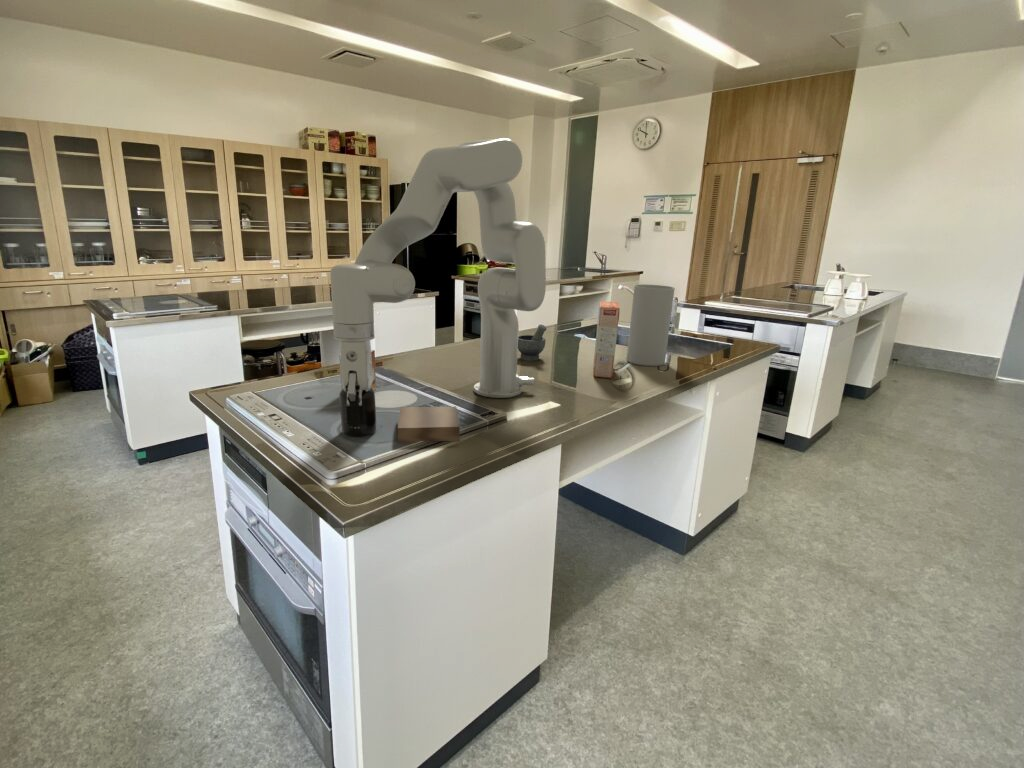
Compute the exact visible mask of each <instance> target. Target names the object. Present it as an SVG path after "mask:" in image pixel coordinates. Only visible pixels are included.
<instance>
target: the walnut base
mask: <svg viewBox="0 0 1024 768" xmlns="http://www.w3.org/2000/svg"><path fill="white" fill-rule="evenodd" d="M399 408H400V409H399V415H398V421H397V423H398V424H397V443H420V442H419V441H429V442H428V443H430V442H458V441H459V442H460V438H461V437H460V436H461V435H460V431H461V429H460V426H461V425H460V422H459V414H458V410H457V406H413V407H412V406H410V407H407V406H405V407H404V406H401V407H399Z"/></svg>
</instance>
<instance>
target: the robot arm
mask: <svg viewBox="0 0 1024 768" xmlns="http://www.w3.org/2000/svg"><path fill="white" fill-rule="evenodd" d="M522 166H523V155H522V151H521V149H520V147H519V145H518V144H517V143H516V142H515V141H513V140H512V139H510V138H505V137H502V138H492V139H490V138H489V139H481V140H480V139H479V140H471V141H466V142H463V143H461V144H459V145H454V146H445V147H436V148H431V149H429V150H428V151H426V152H425V153H424V155H423V156H422V158H421V159H420V161H419V163H418V165H417V168H416V169H415V171H414V173H413V175H412V177H411V179H410V182H409V183H408V185H407V187H406V190H405V192H404V194H403V195H402V198H401V200H400V202H399V204H398V205H397V207H396V209H395V210H394V211H393V212H392V213H391V214H389V216H387V218H385V220H384V221H382V223H380V225H379V226H377V227H376V229H375V230H373V232H371V234H370V235H369V236H368V237H367V239H366V240H365V242H364V244H363V245H362V247H361V249H360V251H359V253H358V255H357V257H356V260H355V262H354V264H353V263H346V264H345V263H342V264H336V265H333V266H332V268H331V269H330V273H329V275H330V291H331V292H330V293H331V310H332V324H333V325H332V326H333V327H332V328H333V338H334V340H336V341H339V343H340V344H339V346H340V347H339V348H340V351H339V353H340V355H341V373H342V385H343V390H344V391H346V392H347V405H346V408H347V424H348V425H363V424H364V423H365V418H364V405H362V392H363V391H362V390H365V391H366V392H367V391H369V389H370V387H371V385H372V381H373V370H372V355H371V350H372V345H371V340H374V339H376V337H375V334H376V333H375V314H374V313H375V312H374V311H375V310H374V305H375V303H387V304H388V303H389V304H397V303H403V302H404V301H406V300H408V299H410V298H411V296H412V295H413V293H414V291H415V287H416V280H415V277H414V275H413V273H412V272H411V271H410V269H408V268H407V267H405V266H403V265H401V264H397V263H393V261H394V259H395V258H396V257H397V256H398V255H399V254H400V253H401V252H402V251H403V250H404V249H406V248H407V247H408V246H410V245H412V244H414V243H417V242H418V241H420V240H423V239H425V238H427V237H428V236H430V235H431V234H433V233H434V232H435V231H436V230H437V228H438V226H439V224H440V221H441V218H442V217H443V215H444V212H445V210H446V208H447V206H448V205H449V202H450V200H451V198H452V196H453V194H454V193H468V192H469V193H470V192H473V193H474V195H475V198H476V201H477V204H478V212H479V213H478V215H479V226H480V227H479V229H480V230H479V231H480V244H481V251H482V254H483V256H484V258H485V259H487V260H489V261H490V262H495V263H501V264H508V265H509V264H511V265H514V268H509V267H501V266H500V267H496V266H495V267H491V268H488V269H486V270H485V271H484V272H482V273H481V275H480V277H479V279H478V282H477V296H478V303H479V306H480V350H479V351H480V356H479V357H480V360H479V362H480V363H479V364H480V365H479V382H477V383H475V384H474V385H473V392H474V393H475V394H477V395H479V396H482V397H485V398H491V399H492V398H494V399H505V398H513V397H516V396H519V395H521V393H522V391H523V388H522V387H523V386H535V378H534V377H528V376H520V375H519V374H518V373H517V370H518V369H517V368H518V351H519V350H518V336H519V332H520V331H519V326H520V325H519V321H518V320H519V319H518V317H517V313H516V311H522V312H534V311H536V310H537V309H539V308H540V307H541V306H542V304H543V302H544V300H545V296H546V289H547V287H546V281H547V278H546V274H547V273H546V272H547V271H546V241H545V238H544V235H543V232H542V231H541V229H540V228H539V227H538V225H536V224H534V223H532V222H528V221H527V222H526V221H517V213H516V212H517V211H516V204H515V203H516V201H515V195H514V192H513V189H512V188H511V185H510V184H509V183H510V182H512V181H513V180H515V179H516V177H518V176H519V174H520V172H521V171H522ZM356 387H360V389H356ZM356 393H359V397H358V395H356Z"/></svg>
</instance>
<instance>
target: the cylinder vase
mask: <svg viewBox="0 0 1024 768" xmlns="http://www.w3.org/2000/svg"><path fill="white" fill-rule="evenodd" d="M674 296H675V287H674V286H668V285H661V284H659V285H658V284H635V285H634V286H633V296H632V305H631V315H630V324H629V335H628V341H627V342H628V343H627V352H626V360H627V362H628V363H630V364H633V365H635V366H642V367H659V366H663V365H665V364H666V358H667V350H668V343H669V342H668V341H669V334H670V327H671V320H672V312H673V311H672V310H673V304H674V298H675V297H674Z"/></svg>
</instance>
